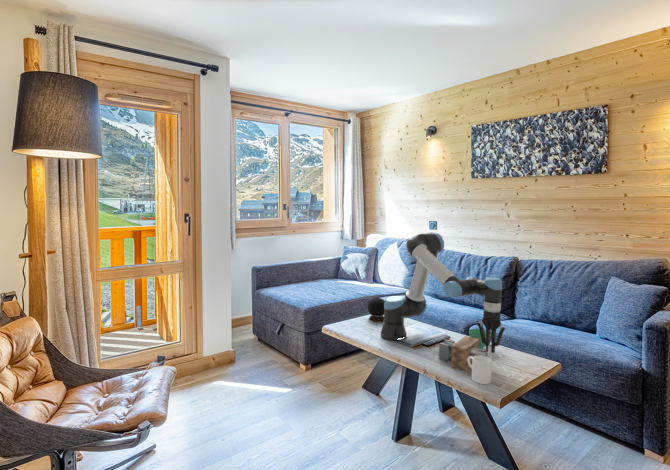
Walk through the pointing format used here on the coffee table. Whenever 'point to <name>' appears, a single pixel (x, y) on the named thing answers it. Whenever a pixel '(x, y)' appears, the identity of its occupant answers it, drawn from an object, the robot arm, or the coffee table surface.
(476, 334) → the mug
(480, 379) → the mug
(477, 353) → the axle
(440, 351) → the cradle
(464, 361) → the beam
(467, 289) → the robot arm
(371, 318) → the black ball on base
